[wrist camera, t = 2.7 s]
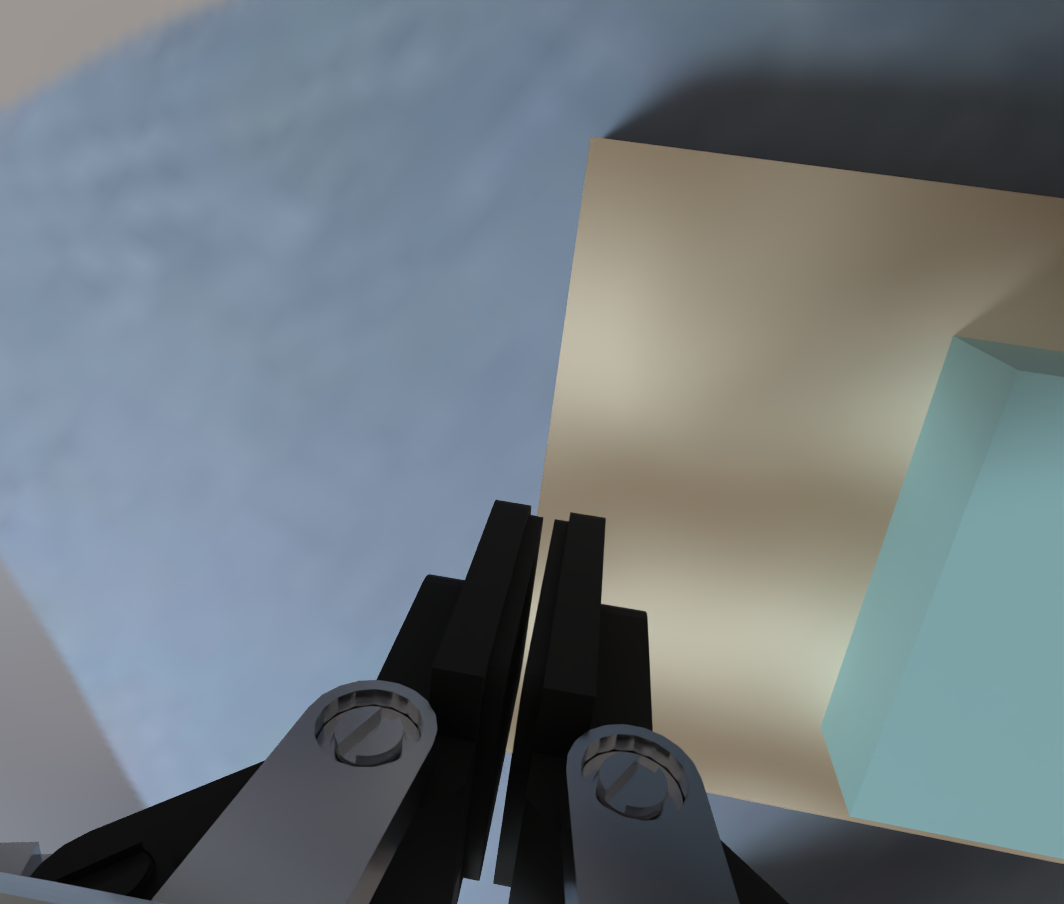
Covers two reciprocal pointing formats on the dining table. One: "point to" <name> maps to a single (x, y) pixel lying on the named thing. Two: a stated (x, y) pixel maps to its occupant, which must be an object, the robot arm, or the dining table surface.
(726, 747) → the beige brown rectangular slab
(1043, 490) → the tile
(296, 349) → the dining table surface
